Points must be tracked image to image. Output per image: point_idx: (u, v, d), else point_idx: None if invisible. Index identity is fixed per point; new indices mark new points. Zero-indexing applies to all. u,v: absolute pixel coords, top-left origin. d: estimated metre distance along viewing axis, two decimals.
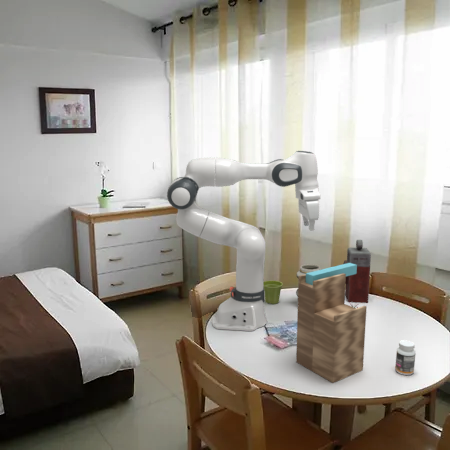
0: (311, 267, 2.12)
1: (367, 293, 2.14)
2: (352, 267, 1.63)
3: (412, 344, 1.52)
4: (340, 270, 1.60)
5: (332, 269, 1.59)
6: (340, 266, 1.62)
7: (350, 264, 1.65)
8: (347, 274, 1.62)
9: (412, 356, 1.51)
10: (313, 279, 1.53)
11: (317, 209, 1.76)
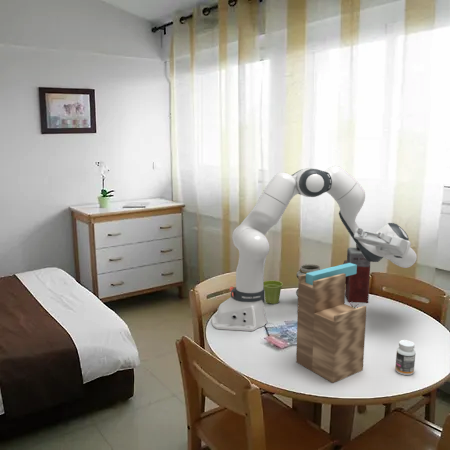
0: (311, 267, 2.12)
1: (367, 293, 2.14)
2: (352, 267, 1.63)
3: (412, 344, 1.52)
4: (340, 270, 1.60)
5: (332, 269, 1.59)
6: (340, 266, 1.62)
7: (350, 264, 1.65)
8: (347, 274, 1.62)
9: (412, 356, 1.51)
10: (313, 279, 1.53)
11: (402, 250, 1.68)
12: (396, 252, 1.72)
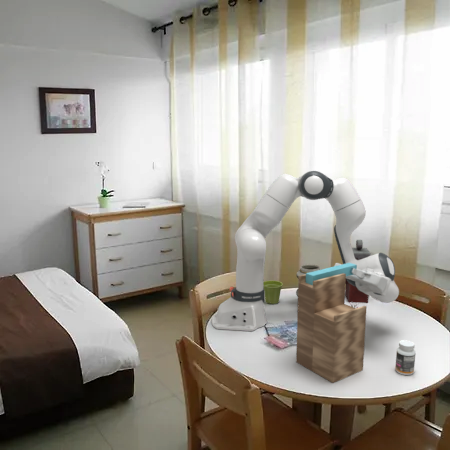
0: (311, 267, 2.12)
1: None
2: (352, 267, 1.63)
3: (412, 344, 1.52)
4: (340, 270, 1.60)
5: (332, 269, 1.59)
6: (340, 266, 1.62)
7: (350, 264, 1.65)
8: (347, 274, 1.62)
9: (412, 356, 1.51)
10: (313, 279, 1.53)
11: (382, 288, 1.61)
12: (375, 289, 1.65)
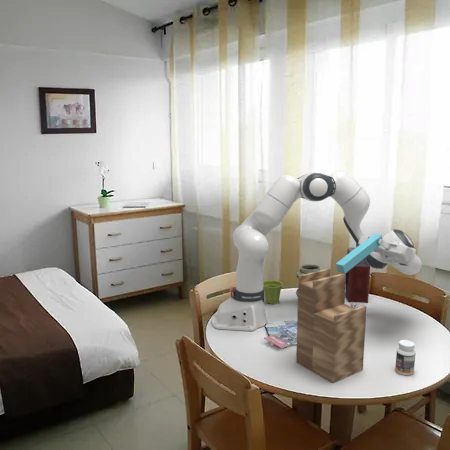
0: (311, 267, 2.12)
1: (367, 293, 2.14)
2: None
3: (412, 344, 1.52)
4: (367, 248, 1.66)
5: (360, 249, 1.66)
6: (366, 242, 1.68)
7: (375, 236, 1.70)
8: (375, 247, 1.68)
9: (412, 356, 1.51)
10: (344, 268, 1.61)
11: (408, 257, 1.66)
12: (401, 260, 1.70)
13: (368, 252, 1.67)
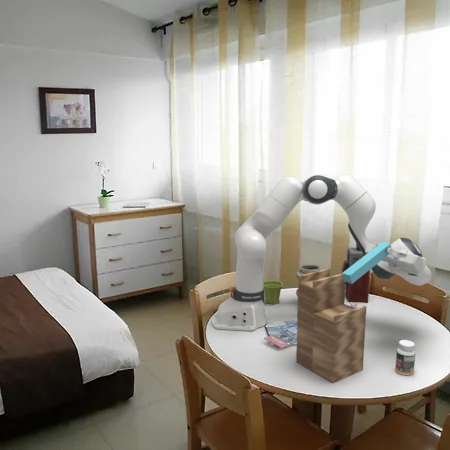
0: (311, 267, 2.12)
1: (367, 293, 2.14)
2: None
3: (412, 344, 1.52)
4: (375, 257, 1.56)
5: (367, 258, 1.56)
6: (374, 251, 1.59)
7: (384, 244, 1.61)
8: (383, 256, 1.59)
9: (412, 356, 1.51)
10: (351, 278, 1.51)
11: (418, 268, 1.57)
12: (411, 270, 1.61)
13: (376, 261, 1.57)
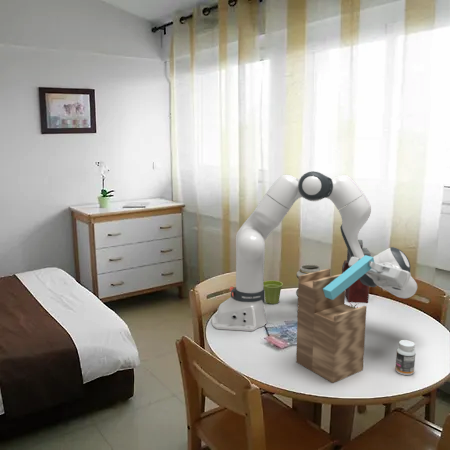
0: (311, 267, 2.12)
1: (367, 293, 2.14)
2: None
3: (412, 344, 1.52)
4: (357, 271, 1.52)
5: (349, 273, 1.52)
6: (356, 265, 1.55)
7: (366, 258, 1.56)
8: (365, 271, 1.55)
9: (412, 356, 1.51)
10: (332, 294, 1.47)
11: (401, 282, 1.53)
12: (394, 284, 1.57)
13: (358, 276, 1.53)
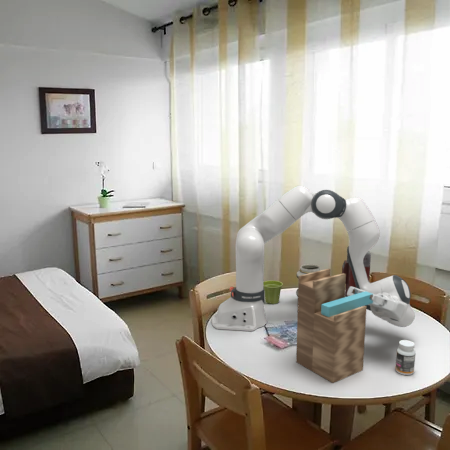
0: (311, 267, 2.12)
1: None
2: (368, 296, 1.58)
3: (412, 344, 1.52)
4: (356, 300, 1.54)
5: (348, 299, 1.54)
6: (356, 295, 1.57)
7: (366, 293, 1.59)
8: (363, 304, 1.57)
9: (412, 356, 1.51)
10: (329, 311, 1.48)
11: (399, 314, 1.55)
12: (392, 315, 1.59)
13: (356, 305, 1.55)
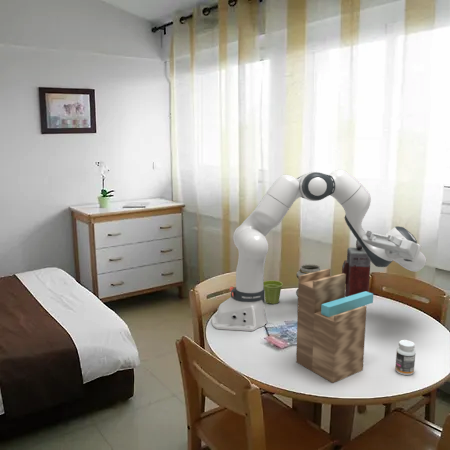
0: (311, 267, 2.12)
1: None
2: (368, 296, 1.58)
3: (412, 344, 1.52)
4: (356, 300, 1.54)
5: (348, 299, 1.54)
6: (356, 295, 1.57)
7: (366, 293, 1.59)
8: (363, 304, 1.57)
9: (412, 356, 1.51)
10: (329, 311, 1.48)
11: (413, 253, 1.65)
12: (406, 255, 1.69)
13: (356, 305, 1.55)
